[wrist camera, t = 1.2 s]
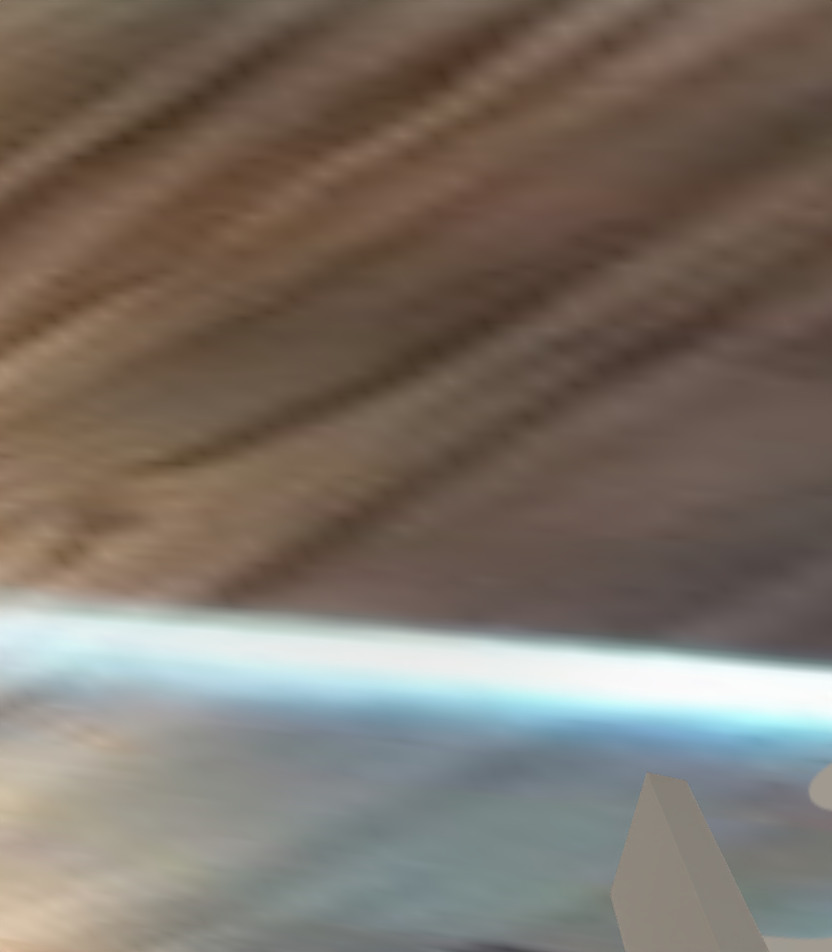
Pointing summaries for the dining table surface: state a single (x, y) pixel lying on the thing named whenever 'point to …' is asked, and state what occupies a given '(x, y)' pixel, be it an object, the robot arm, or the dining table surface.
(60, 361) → the dining table surface
